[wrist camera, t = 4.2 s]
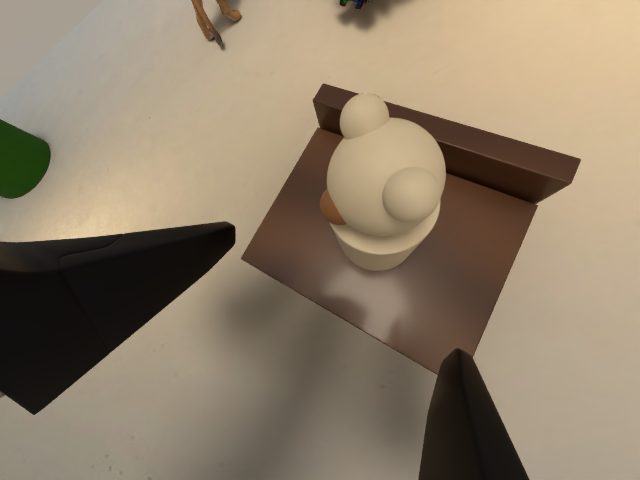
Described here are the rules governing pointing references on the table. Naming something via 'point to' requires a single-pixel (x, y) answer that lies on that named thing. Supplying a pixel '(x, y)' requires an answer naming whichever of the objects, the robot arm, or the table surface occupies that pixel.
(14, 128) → the candle
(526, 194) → the miniature wooden bed
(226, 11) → the lion figurine
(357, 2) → the toy
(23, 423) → the table surface
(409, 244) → the toy bear
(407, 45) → the table surface
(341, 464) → the table surface
